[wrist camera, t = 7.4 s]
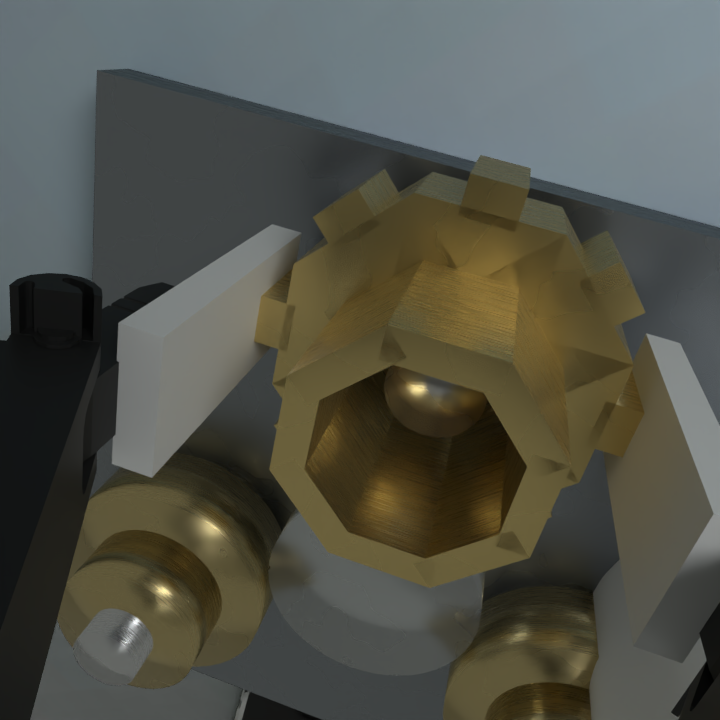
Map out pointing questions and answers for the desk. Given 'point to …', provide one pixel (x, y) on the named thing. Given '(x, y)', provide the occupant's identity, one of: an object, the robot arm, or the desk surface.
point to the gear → (447, 369)
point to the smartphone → (266, 709)
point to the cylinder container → (633, 664)
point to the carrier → (257, 436)
